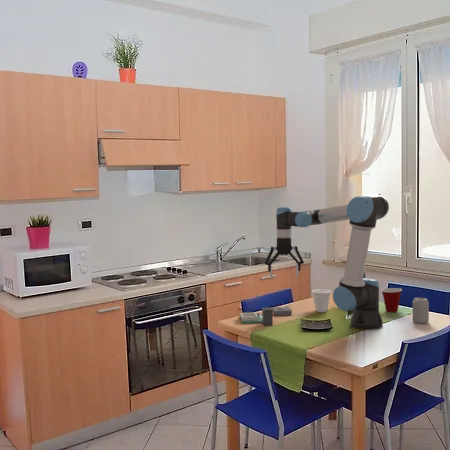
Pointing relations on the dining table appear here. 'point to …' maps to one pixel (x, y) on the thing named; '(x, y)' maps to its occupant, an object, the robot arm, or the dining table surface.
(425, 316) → the can
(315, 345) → the dining table surface
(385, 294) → the plastic cup
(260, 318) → the board
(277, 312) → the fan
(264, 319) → the plug
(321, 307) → the cup
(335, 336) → the dining table surface
